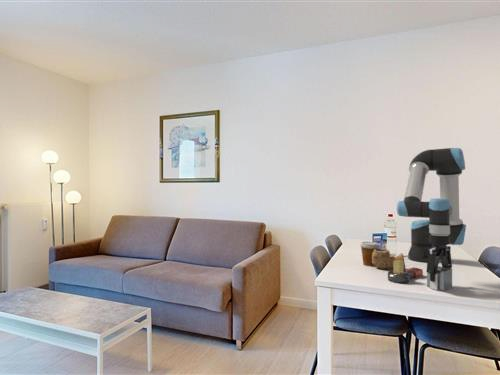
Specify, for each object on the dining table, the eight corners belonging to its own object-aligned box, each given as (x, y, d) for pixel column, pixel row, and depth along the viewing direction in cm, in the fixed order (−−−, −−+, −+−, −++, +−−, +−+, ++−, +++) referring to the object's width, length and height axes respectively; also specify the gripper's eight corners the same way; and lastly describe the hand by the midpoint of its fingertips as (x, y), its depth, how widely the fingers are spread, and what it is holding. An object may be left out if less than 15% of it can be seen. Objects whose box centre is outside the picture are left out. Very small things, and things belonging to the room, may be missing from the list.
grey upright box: (435, 283, 134) (435, 265, 134) (452, 288, 128) (452, 269, 128) (427, 286, 130) (426, 267, 130) (443, 291, 125) (443, 271, 125)
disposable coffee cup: (357, 264, 166) (357, 243, 166) (364, 261, 173) (364, 240, 173) (374, 268, 160) (374, 245, 160) (381, 264, 167) (381, 242, 167)
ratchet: (409, 272, 151) (409, 254, 151) (427, 277, 143) (427, 258, 143) (383, 279, 141) (383, 260, 141) (401, 284, 133) (401, 264, 133)
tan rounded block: (407, 272, 151) (407, 252, 151) (373, 270, 156) (373, 251, 156) (403, 267, 160) (403, 249, 160) (371, 265, 164) (371, 247, 164)
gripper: (443, 231, 138) (443, 280, 138) (416, 235, 127) (416, 288, 127) (461, 233, 131) (461, 284, 131) (434, 238, 120) (435, 294, 121)
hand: (439, 286), depth 129 cm, fingers open, 9 cm apart
